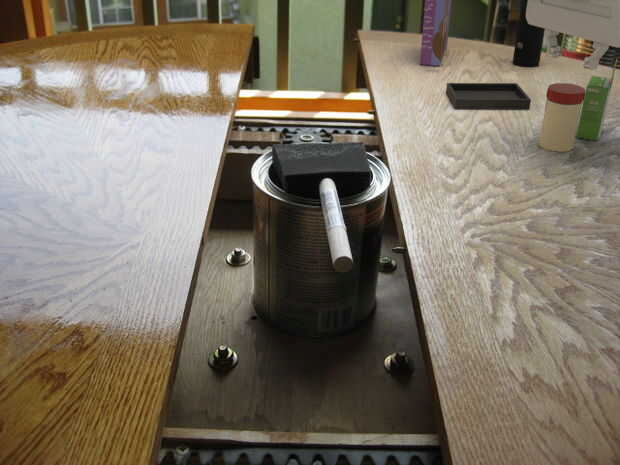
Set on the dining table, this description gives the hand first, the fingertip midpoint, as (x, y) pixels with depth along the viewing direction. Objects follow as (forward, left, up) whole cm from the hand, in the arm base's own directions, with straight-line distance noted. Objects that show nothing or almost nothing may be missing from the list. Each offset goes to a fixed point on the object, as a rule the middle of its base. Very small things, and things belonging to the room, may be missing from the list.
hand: (570, 62), depth 110 cm
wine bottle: (-9, -54, -15) cm, 57 cm away
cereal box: (+13, -60, -15) cm, 63 cm away
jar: (0, 0, -15) cm, 15 cm away
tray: (+7, -25, -15) cm, 30 cm away
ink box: (-8, -6, -15) cm, 18 cm away
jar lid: (0, 0, -5) cm, 5 cm away
